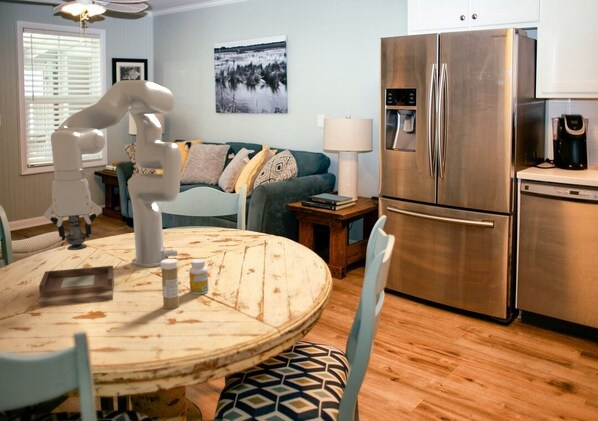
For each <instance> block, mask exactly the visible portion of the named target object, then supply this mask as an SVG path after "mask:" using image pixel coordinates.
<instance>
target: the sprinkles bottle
mask: <svg viewBox="0 0 598 421" xmlns="http://www.w3.org/2000/svg"><path fill="white" fill-rule="evenodd" d="M178 264H179V263H178V260H177V259H175V258H169V259H165V260H162V261H161V265H160V269H161V283H162V285H161V286H162V287H161V288H162V301H163V306H162V307H163V308H164V309H167V310H169V309H177V308H178V307H179V306H180V303H179V302H180V301H179V300H180V299H179V294H180V293H179V277H178V266H179V265H178Z"/></svg>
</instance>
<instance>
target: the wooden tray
mask: <svg viewBox="0 0 598 421" xmlns="http://www.w3.org/2000/svg"><path fill="white" fill-rule="evenodd" d="M114 275H115V274H114V266H113V265H105V266H103V265H102V266H95V267H94V266H93V267H92V266H91V267H82V268H81V267H80V268H71V269H70V268H69V269H68V268H67V269H57V270H46V271H44V273H43V276H42V278H41V280H40V282H39V285H38V287H39V288H38V289H39V299H38V301H37V302H38V307H39V308H42V307H51V306H60V305H61V306H62V305H63V306H64V305H70V304H71V305H72V304H80V303H81V304H83V303H90V302H99V301H100V302H101V301H110V300H114V288H115V287H114V286H115V285H114V284H115V278H114Z"/></svg>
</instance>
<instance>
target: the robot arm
mask: <svg viewBox="0 0 598 421" xmlns="http://www.w3.org/2000/svg"><path fill="white" fill-rule="evenodd" d="M175 103H176V102H175V97H174V94H173V93H172V92H171V90H170V89H168V88H167V87H165V86H162V85H160V84H157V83H155V82H152V81H149V80H145V79H132V80H131V79H130V80H129V79H127V80H126V79H125V80H124V79H123V80H119V81H116V82H115V83H114V84H113V85H111V86H110V88H109V89H108V90H107V91H106V92H105V93H104V94H103V95H102V97H101V98H99V100H98V101H97V102H96V103H94V104H92V105H90V106H87V107H86V108H83V109H82V110H79V111H77V112H75V113H73V114H72V115H70V116H69V117H67V118H66V119H65V120H64V121H63V122H62V123H61V124H60V125H59V126H58V128H57V129H56V131H54V132H52V133H51V135H50V144H51V145H50V147H51V153H52V162H53V171H54V172H53V173H54V180H53V181H52V190H51V192H52V193H51V198H52V201H51V202H52V203H51V205H50V206H49V207H48V208H47V210H46V211H45V212H44V214H43V216H44V217H45V218H46V219H48V220H49V221H50V222H52V223H53V224H54V225H56V226H57V228H58V236H59V238H61V241H65V240H66V238H65V236H66V229H65V224H64V222H63V221H64V217H68V216H79V217H80V216H82V217H83V218H84V221H85V224H84V227H85V233H86V238H87V239H89V238H90V235H92V234H93V232H92V222H94V220H95V219H96V218H97V217H98V216H99V215H100V214H101V213H102V210H103V209H102V208H101V207H100V206H99V205H97V204H96V203H95V202H94V201H93V200H92V196H91V188H90V184H89V181H88V179H87V178H86V176H90V171H89V170H86V169H84V165H83V164H84V163H83V155H95V154H98V153H99V152H101V151H102V150H103V149H104V147H105V146H106V137H105V134H104V133H103V132H102V131H101V130H104V129H108V128H111V127H114V126H116V125H118V124H119V123H120V122H121V120H122V119H123V118H124V117H125V115H126V114H127V113H128V112H129V114H130V116H131V117H132V119H133V121H134V125H135V127H136V128H135V129H136V136H135V137H136V139H135V150H134V152H135V154H134V160H135V164H136V166H137V167H138V168H140V169H143V170H152V171H153V170H157V171H162V173H151V172H145V173H144V172H143V173H142V172H141V173H137V174H134V175H132V176H131V177H130V178H129V181H128V184H127V190H128V193H129V198H130V201H131V206H132V216H133V231H134V232H133V234H134V247H135V257H134V258H133V259H131V264H132V265H133V266H134V267H139V268H155V267H159V266H160V267H161V261H162V260H165V259H170V258H169V257H177V256H178V250H173V249H169V250H167V249H165V246H164V235H163V234H164V233H163V219H162V211H161V208H160V207H159V205H158V203H173V202H175V201H176V200H177V199H178V197H179V194H180V188H181V178H182V177H181V176H182V175H181V174H182V164H183V162H182V160H183V159H182V151H181V149H180V147H179V146H178V144H176V143H174V142H169V141H162V138H163V136H162V135H163V128H162V124H161V123H160V121H159V119H158V118H157V117H156V115H168V114H170V113H171V112H172V111H173V109H174V107H175V105H176V104H175ZM157 202H158V203H157ZM92 210H94V212H93V213H92ZM52 213H53V215H52ZM91 213H92V214H91ZM90 214H91V215H90ZM57 217H58V218H57Z"/></svg>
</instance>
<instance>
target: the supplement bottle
mask: <svg viewBox="0 0 598 421" xmlns="http://www.w3.org/2000/svg"><path fill="white" fill-rule="evenodd" d="M190 262H191V267H190V269H189V288H190V289H189V291H190V293H191V294H193V295H203V294H207V293H208V292H209V274H208V273H209V271H208V267H206V261H205V259H203V258H195V259H192V260H191V261H190Z"/></svg>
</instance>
